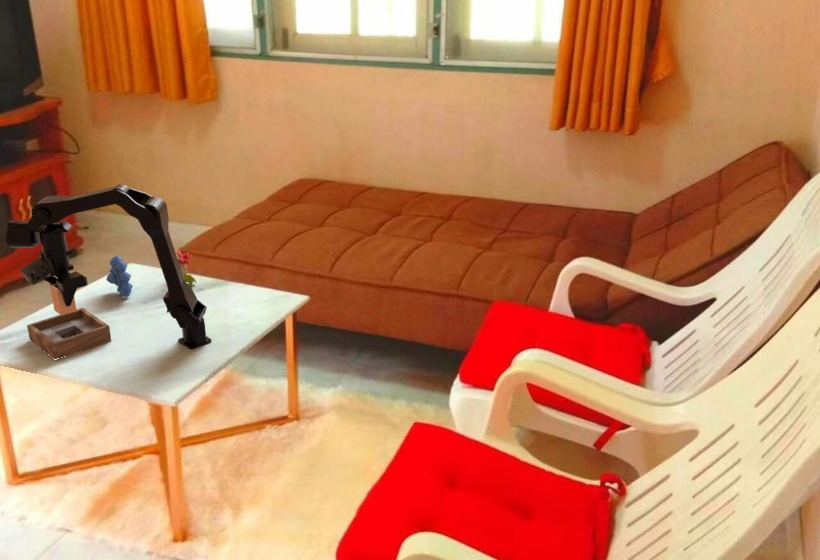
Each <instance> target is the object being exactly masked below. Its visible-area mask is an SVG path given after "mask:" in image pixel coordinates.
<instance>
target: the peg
mask: <svg viewBox="0 0 820 560" xmlns="http://www.w3.org/2000/svg"><path fill="white" fill-rule="evenodd" d="M55 285H56V284H55ZM49 288H50V294H51V298H52V305H53V310H54V311H55V312H56V313H58V315H64V314H67V313H70V312H73V311H77V305H76V301H75V300H76V299H75V297H74V298H73V300H72V303H71V305H70V306H68V307H67V306H66V305H65V303H64V300H63V297H62V294H61V291H60V290H59V289H57V288H56V287H54V286H53V285H51V286H50V285H49Z"/></svg>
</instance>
